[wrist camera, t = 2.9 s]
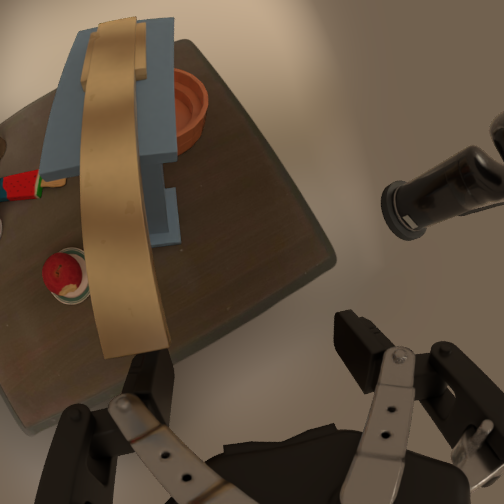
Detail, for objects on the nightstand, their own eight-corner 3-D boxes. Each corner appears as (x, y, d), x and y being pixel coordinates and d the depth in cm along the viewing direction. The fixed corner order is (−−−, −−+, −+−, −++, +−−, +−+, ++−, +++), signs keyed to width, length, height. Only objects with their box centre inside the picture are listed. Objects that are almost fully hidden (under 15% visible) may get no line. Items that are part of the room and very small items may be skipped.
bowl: (187, 81, 45) (189, 59, 39) (218, 145, 43) (223, 124, 38) (104, 106, 40) (98, 84, 34) (123, 177, 39) (115, 158, 33)
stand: (182, 258, 39) (188, 150, 12) (127, 265, 37) (29, 176, 10) (174, 179, 41) (181, 16, 14) (122, 185, 38) (72, 32, 12)
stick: (186, 339, 10) (187, 344, 9) (101, 354, 10) (89, 361, 8) (146, 32, 13) (146, 14, 11) (92, 43, 12) (89, 25, 10)
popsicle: (62, 191, 34) (-8, 201, 31) (65, 195, 36) (-4, 204, 32) (66, 165, 35) (-3, 176, 31) (69, 169, 37) (1, 180, 33)
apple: (104, 262, 36) (91, 253, 30) (84, 314, 34) (67, 314, 27) (62, 240, 35) (43, 228, 28) (42, 289, 32) (20, 285, 26)
